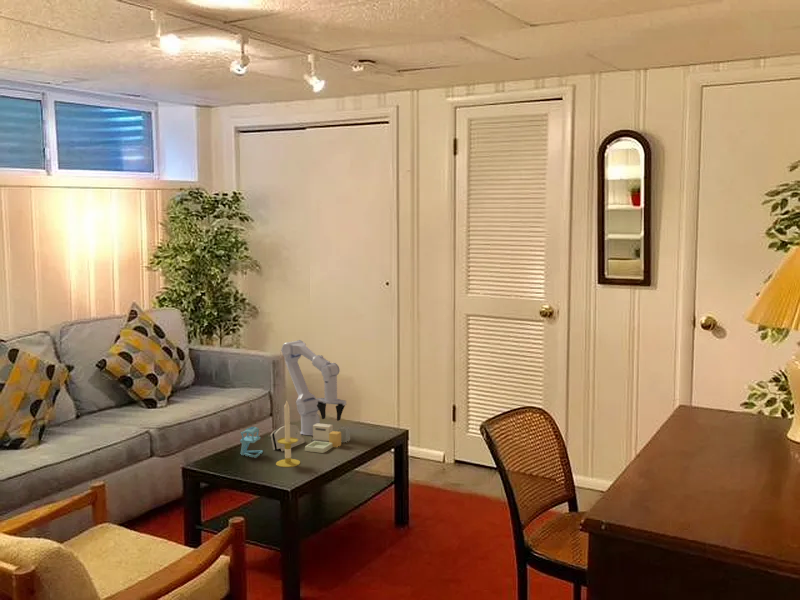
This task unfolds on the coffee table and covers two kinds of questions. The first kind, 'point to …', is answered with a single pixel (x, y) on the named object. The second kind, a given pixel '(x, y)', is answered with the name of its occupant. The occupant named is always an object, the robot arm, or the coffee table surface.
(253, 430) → the chair
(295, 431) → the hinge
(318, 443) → the sage tray
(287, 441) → the candle
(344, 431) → the slate block
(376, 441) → the coffee table surface
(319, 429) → the cream unit
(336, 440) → the ochre block
